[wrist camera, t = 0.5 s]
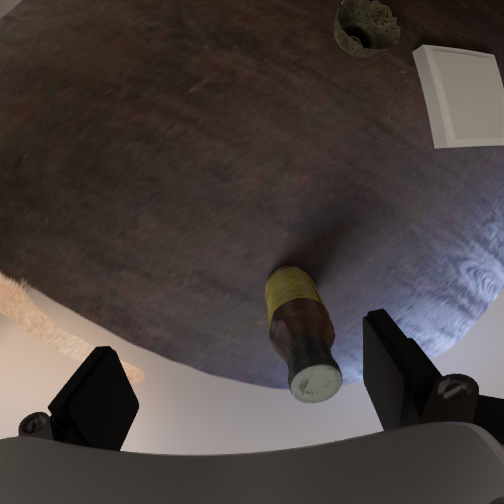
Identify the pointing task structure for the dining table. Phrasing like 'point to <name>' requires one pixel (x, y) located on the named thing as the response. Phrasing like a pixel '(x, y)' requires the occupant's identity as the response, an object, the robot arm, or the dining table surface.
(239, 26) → the dining table surface
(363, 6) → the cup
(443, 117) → the pedestal
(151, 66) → the dining table surface
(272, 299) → the sauce bottle
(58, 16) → the dining table surface
